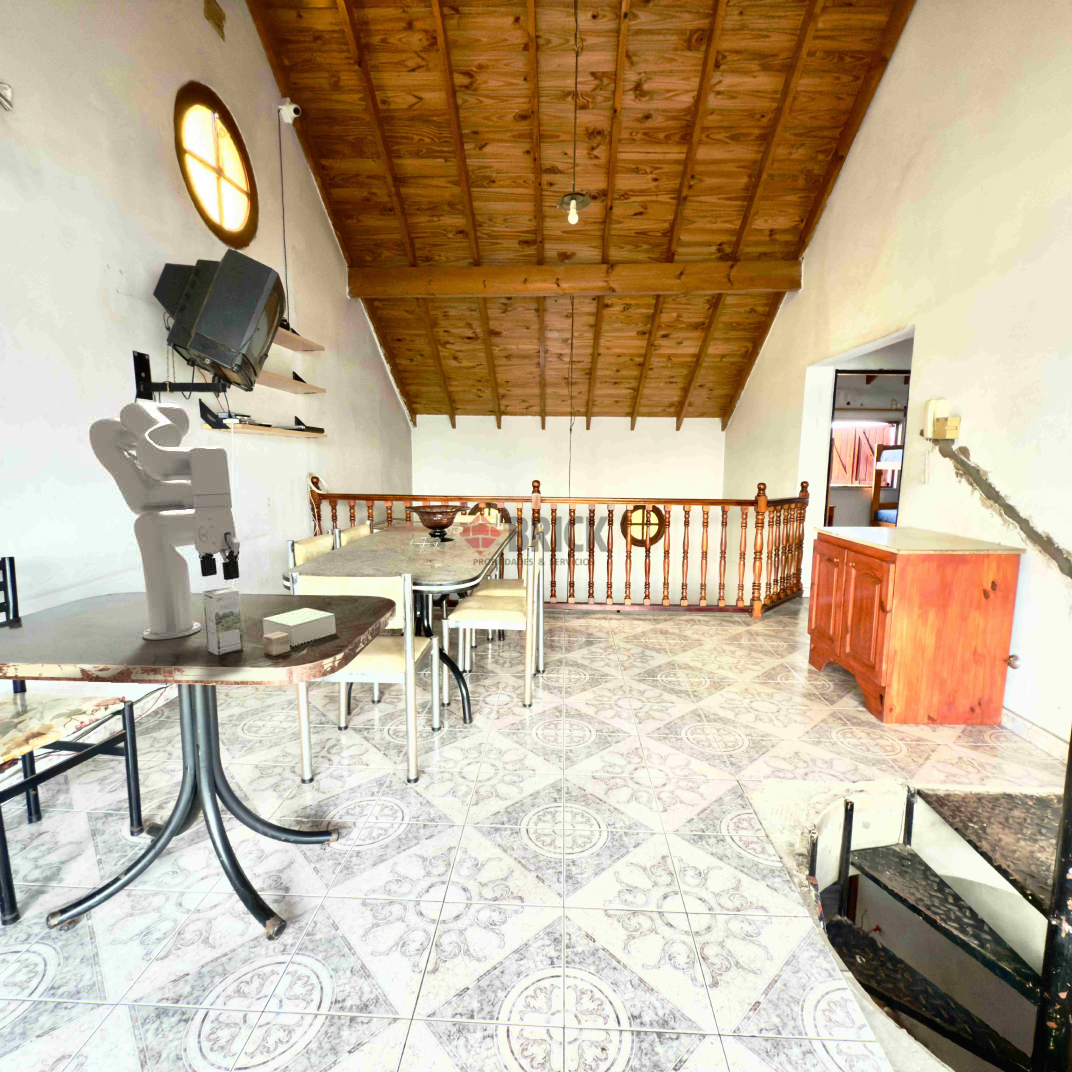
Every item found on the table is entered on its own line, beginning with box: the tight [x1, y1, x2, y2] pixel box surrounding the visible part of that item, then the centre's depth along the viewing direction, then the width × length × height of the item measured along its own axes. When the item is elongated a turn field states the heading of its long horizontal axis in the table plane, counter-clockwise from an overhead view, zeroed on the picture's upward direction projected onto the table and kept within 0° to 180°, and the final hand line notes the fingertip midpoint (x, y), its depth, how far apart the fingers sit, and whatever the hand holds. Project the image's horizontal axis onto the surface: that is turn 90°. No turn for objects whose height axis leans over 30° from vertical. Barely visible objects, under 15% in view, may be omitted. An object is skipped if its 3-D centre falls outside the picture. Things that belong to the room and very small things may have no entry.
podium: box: [262, 607, 337, 647], centre depth 141 cm, size 12×12×5 cm
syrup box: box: [202, 586, 244, 656], centre depth 130 cm, size 6×6×14 cm
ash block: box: [262, 632, 291, 656], centre depth 130 cm, size 4×4×4 cm
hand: (220, 577), depth 129 cm, fingers open, 9 cm apart
